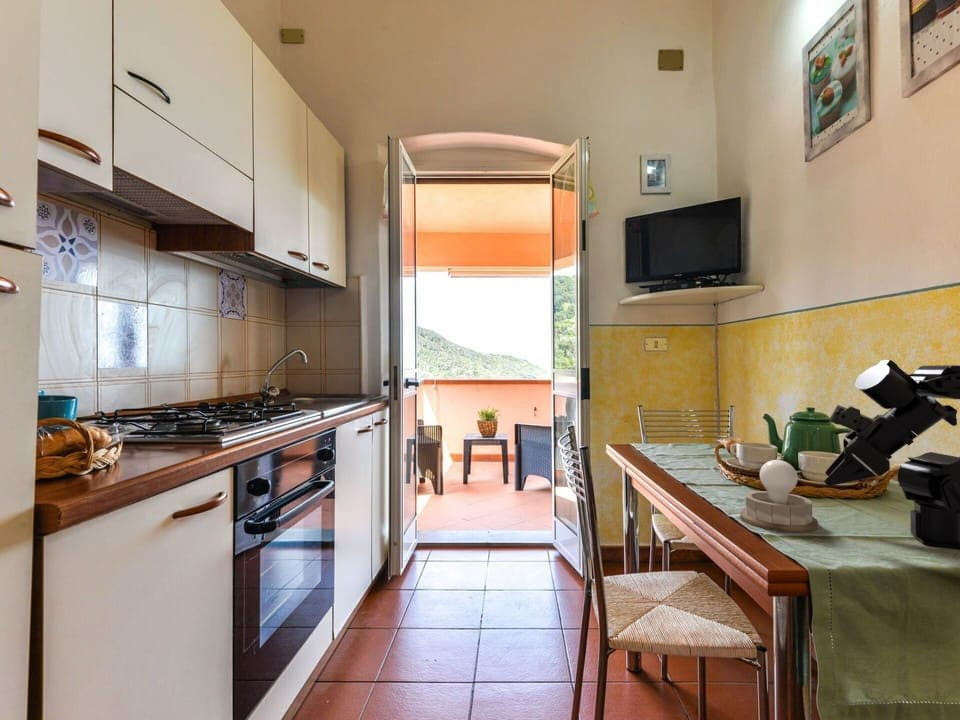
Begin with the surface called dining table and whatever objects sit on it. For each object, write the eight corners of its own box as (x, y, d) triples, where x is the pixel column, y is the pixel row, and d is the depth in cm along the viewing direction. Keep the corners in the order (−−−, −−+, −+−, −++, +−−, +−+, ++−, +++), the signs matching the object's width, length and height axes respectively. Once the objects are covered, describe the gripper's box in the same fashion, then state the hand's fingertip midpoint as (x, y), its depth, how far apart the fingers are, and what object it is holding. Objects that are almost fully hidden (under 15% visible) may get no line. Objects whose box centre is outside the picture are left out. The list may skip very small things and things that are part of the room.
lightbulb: (754, 515, 98) (754, 459, 98) (766, 509, 102) (767, 455, 102) (790, 523, 93) (790, 464, 93) (802, 516, 97) (802, 460, 97)
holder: (811, 516, 101) (811, 493, 101) (824, 536, 89) (823, 510, 89) (739, 508, 106) (738, 487, 106) (742, 526, 95) (741, 503, 95)
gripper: (858, 388, 98) (793, 440, 104) (862, 393, 83) (786, 453, 89) (912, 431, 93) (840, 482, 100) (926, 444, 78) (841, 504, 85)
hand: (826, 479), depth 93 cm, fingers open, 9 cm apart
